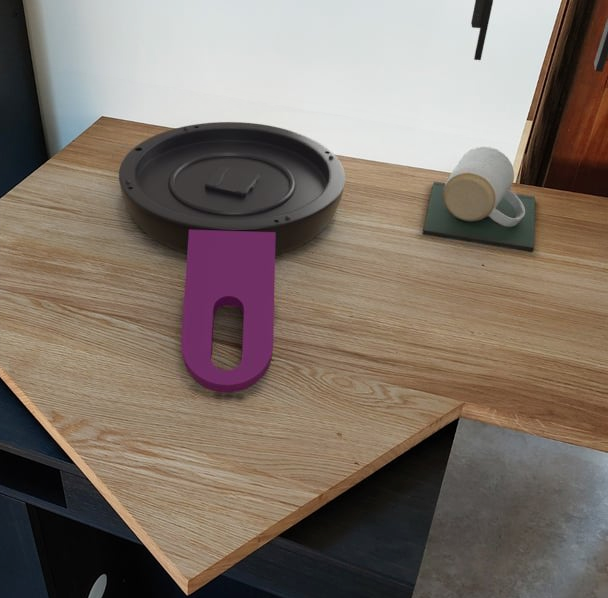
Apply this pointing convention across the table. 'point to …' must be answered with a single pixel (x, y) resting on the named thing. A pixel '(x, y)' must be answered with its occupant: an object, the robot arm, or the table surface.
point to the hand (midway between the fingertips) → (536, 62)
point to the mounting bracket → (229, 303)
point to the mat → (481, 224)
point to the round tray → (231, 183)
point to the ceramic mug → (482, 187)
